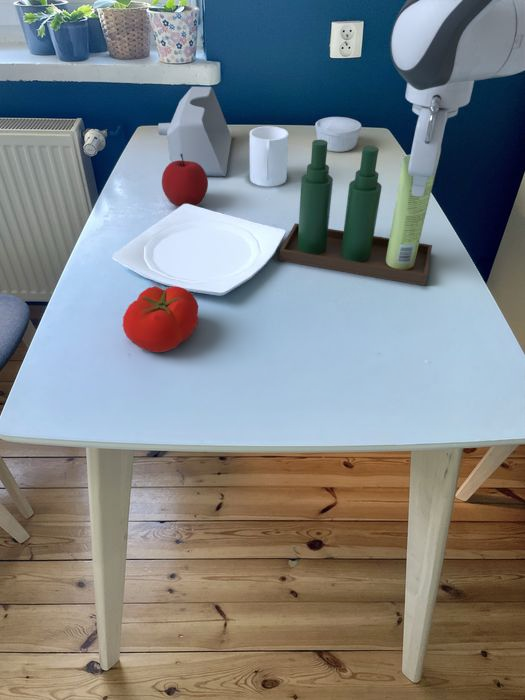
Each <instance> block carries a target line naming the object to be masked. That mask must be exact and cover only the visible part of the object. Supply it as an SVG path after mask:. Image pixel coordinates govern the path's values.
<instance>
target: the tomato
mask: <svg viewBox="0 0 525 700" xmlns="http://www.w3.org/2000/svg"><path fill="white" fill-rule="evenodd" d="M198 313H199V304H198V301H197V299H196V297H195V296H194V295H193V294H192V292H191V291H187V290H186V289H184V288H181V287H177V286H172V287H171V286H169V287H168V288H165V289H163V288H161V287H158V286H157V285H154V286H151V287H148V288H146V289H145V290H142V292H140V293H139V295H138V297H137V298H136V299H135V300H134V301H133V302H132V303H130V304H129V305H128V307H127V309H126V310H125V313H124V315H123V316H122V328H123V332H124V334H125V336H126V338H127V339H128V340H130V342H131V343H133V344H134V345H135V346H136V347H138V348H140V349H143V350H145V351H147V352H153V353H163V352H169V351H171V350H173V349H175V348H177V347H178V346H179V345H180V343H182V342H183V341H185V340H187V339H188V338H189V337H190V336H191V335H192V334H193V332H194V331H195V329H196V327H197V326H198V325H199V324H198V323H199V316H198Z"/></svg>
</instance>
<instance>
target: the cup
mask: <svg viewBox="0 0 525 700" xmlns="http://www.w3.org/2000/svg"><path fill="white" fill-rule="evenodd" d="M288 151H289V131H288V130H287V129H285V128H283V127H280V126H279V127H278V126H272V125H271V126H270V125H266V126H265V125H264V126H259V127H254V128H253V129H251V130H250V131H249V180H250V182H251V183H253V184H254V185H256V186H259V187H269V188H270V187H277V186H282V185H283V184H285V183H286V182H287V174H288Z"/></svg>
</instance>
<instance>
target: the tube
mask: <svg viewBox="0 0 525 700" xmlns="http://www.w3.org/2000/svg"><path fill="white" fill-rule="evenodd" d="M441 152H442V147H441V148H440V153H439V157H438V162H437V167H436V171H435V174H434V176H433V177H428V180H427V183H426V186H425V191H424V195H423V196H422V197H418V196H413V195H412V187H413V175H410V174H409V172H408V167H409V161H410V156H411V154H406V155H404V156H403V157H402V162H401V169H400V175H399V180H398V187H397V194H396V199H395V205H394V210H393V217H392V223H391V227H390V234H389V237H388V238H389V244H388V249H387V255H386V263H387V264H388V265H389V266H390V267H392V268H396V269H402V270H405V269H409V268H412V267H413V266H414V263H415V259H416V254H417V250H418V246H419V243H420V240H421V237H422V233H423V227H424V223H425V219H426V215H427V211H428V207H429V202H430V198H431V194H432V189H433V185H434V182H435V177H436V173H437V169H438V165H439V162H440V161H439V160H440V156H441Z"/></svg>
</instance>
